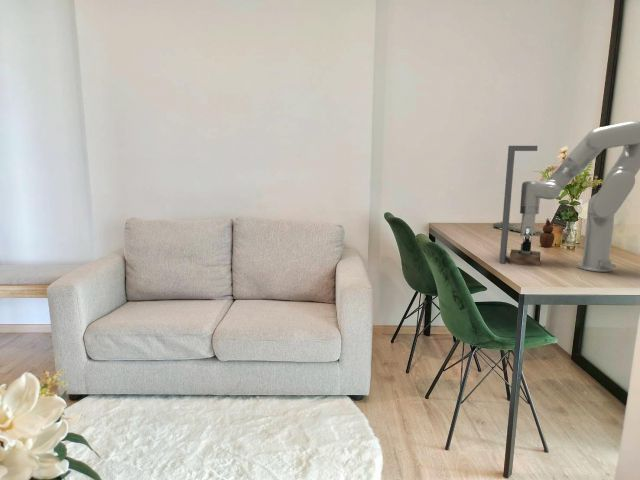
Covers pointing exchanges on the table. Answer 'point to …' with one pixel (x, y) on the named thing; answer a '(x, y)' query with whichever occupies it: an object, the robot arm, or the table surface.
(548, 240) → the wooden figurine
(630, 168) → the robot arm
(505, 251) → the gallows post stand
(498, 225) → the elongated rock
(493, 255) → the table surface
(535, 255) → the socket block
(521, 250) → the peg
